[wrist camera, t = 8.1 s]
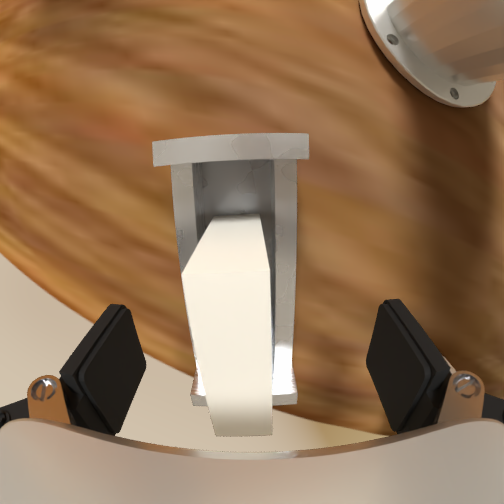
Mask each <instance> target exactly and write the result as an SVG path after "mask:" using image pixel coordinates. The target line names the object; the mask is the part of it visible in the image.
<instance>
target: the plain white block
mask: <svg viewBox="0 0 504 504" xmlns="http://www.w3.org/2000/svg"><path fill="white" fill-rule="evenodd" d="M181 275H182V281H183V287H184V294H185V299H186V305H187V311H188V316H189V322H190V327H191V332H192V338H193V343H194V347H195V352H196V357H197V362H198V366H199V371H200V375H201V380H202V384H203V388H204V392H205V397H206V401H207V405H208V408H209V412H210V416H211V420H212V424H213V427H214V431H215V435H216V436H265V435H272V343H271V294H270V268H269V263H268V257H267V252H266V246H265V241H264V236H263V230H262V225H261V220H260V214H244V215H226V216H214V217H213V219H212V220H211V222H210V224H209V226H208V227H207V229H206V231H205V233H204V234H203V236H202V238H201V240H200V242H199V243H198V245H197V247H196V249H195V251H194V252H193V254H192V256H191V258H190V260H189V261H188V263H187V265H186V267H185V269H184V271H183V272H182V274H181Z"/></svg>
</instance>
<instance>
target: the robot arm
mask: <svg viewBox="0 0 504 504" xmlns="http://www.w3.org/2000/svg"><path fill="white" fill-rule="evenodd" d="M359 3H360V8H361V13H362V16H363V18H364V21H365V23H366V26H367V28H368V30H369V32H370V33H371V35H372V37H373V39H374V41H375V42H376V44H377V45H378V47H379V48H380V49H381V51H382V52H383V54H384V55H385V56H386V58H387V59H388V60H389V61H390V62H391V63H392V65H393V66H394V67H395V68H396V69H397V70H398V72H399V73H401V74H402V75H403V76H404V77H405V78H406V79H407V80H408V81H409V82H410V83H411V84H412V85H414V86H415V87H416V88H418V89H419V90H420V91H422V92H423V93H424V94H425V95H427V96H429V97H431V98H433V99H434V100H436V101H438V102H440V103H443V104H446V105H448V106H451V107H459V108H465V107H474V106H477V105H480V104H482V103H484V102H485V101H486V100H487V99H488V98H489V97H490V95H491V94H492V92H493V90H494V87H495V84H496V81H500V80H504V0H359ZM366 365H367V368H368V370H369V373H370V375H371V378H372V380H373V382H374V385H375V387H376V390H377V392H378V395H379V397H380V400H381V402H382V405H383V408H384V410H385V413H386V415H387V418H388V421H389V423H390V426H391V428H392V430H393V431H394V432H395V431H396V432H397V435H393V436H389V437H385V438H380V439H375V440H370V441H365V442H360V443H355V444H348V445H342V446H335V447H328V448H321V449H320V448H319V449H310V450H298V451H284V452H283V451H282V452H223V451H222V452H221V451H207V450H195V449H186V448H177V447H169V446H163V445H157V444H151V443H145V442H140V441H135V440H130V439H126V438H121V437H117V436H115V434H116V433H119V432H120V430H121V427H122V425H123V422H124V420H125V417H126V415H127V412H128V410H129V407H130V405H131V403H132V400H133V398H134V395H135V393H136V391H137V388H138V386H139V384H140V381H141V379H142V377H143V374H144V372H145V369H146V360H145V357H144V354H143V351H142V348H141V345H140V342H139V339H138V335H137V332H136V329H135V325H134V322H133V318H132V315H131V312H130V310H129V309H127V308H126V306H125V305H118V304H110V305H109V306H108V307H107V309H106V310H105V311H104V312H103V314H102V315H101V316H100V318H99V319H98V320H97V321H96V323H95V324H94V325H93V327H92V328H91V329H90V330H89V332H88V333H87V335H86V336H85V337H84V338H83V340H82V341H81V342H80V344H79V345H78V346H77V348H76V349H75V351H74V352H73V353H72V355H71V356H70V357H69V359H68V360H67V362H66V363H65V365H64V366H63V367H62V369H61V370H60V371H59V372H60V374H61V377H60V379H58V378H57V377H55V376H52V375H45V376H41V377H39V378H37V379H36V380H34V381H33V382H32V383H31V385H30V386H29V388H28V392H27V398H25V399H23V400H20V401H17V402H15V403H12V404H9V405H6V406H4V407H1V408H0V504H504V400H503V399H500V398H497V397H494V396H491V395H488V394H485V393H484V392H485V388H484V384H483V382H482V380H481V379H480V378H479V377H478V376H477V375H476V374H474V373H472V372H469V371H458V372H455V373H454V374H453V375H452V373H451V372H450V368H451V367H450V366H449V365H448V363H447V362H446V360H445V359H444V357H443V356H442V354H441V353H440V352H439V350H438V349H437V347H436V346H435V345H434V343H433V342H432V341H431V339H430V338H429V336H428V335H427V334H426V332H425V331H424V330H423V328H422V327H421V326H420V324H419V323H418V322H417V321H416V319H415V318H414V317H413V315H412V314H411V313H410V311H409V310H408V309H407V308H406V306H405V305H404V304H403V303H402V301H401V300H400V299H390V300H385V301H384V302H383V304H381V305H380V306H379V309H378V313H377V318H376V322H375V326H374V331H373V335H372V339H371V343H370V346H369V350H368V354H367V358H366Z"/></svg>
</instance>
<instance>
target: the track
mask: <svg viewBox="0 0 504 504" xmlns="http://www.w3.org/2000/svg"><path fill="white" fill-rule="evenodd" d="M152 146H153V165H154V167H155V166H164V165H171V178H172V192H173V204H174V215H175V226H176V235H177V245H178V253H179V261H180V269H181V274H182V272H183V271H184V269H185V267H186V265H187V263H188V261H189V260H190V258H191V256H192V254H193V252H194V251H195V249H196V247H197V245H198V243H199V242H200V240H201V238H202V236H203V234H204V233H205V231H206V229H207V227H208V226H209V224H210V222H211V220H212V219H213V217H214V216H226V215H244V214H260V220H261V225H262V230H263V236H264V241H265V246H266V252H267V257H268V263H269V268H270V294H271V343H272V406H274V405H289V404H297V396H298V391H297V386H296V381H295V376H294V370H293V365H292V347H293V330H294V309H295V284H296V245H297V159H309V134H304V133H254V134H229V135H213V136H200V137H189V138H179V139H170V140H162V141H155V142H152ZM181 277H182V275H181ZM182 284H183V281H182ZM183 291H184V287H183ZM184 298H185V294H184ZM185 304H186V299H185ZM186 311H187V305H186ZM187 317H188V323H189V329H190V334H191V340H192V346H193V351H194V356H195V361H196V371H195V376H194V380H193V385H192V390H191V394H190V395H191V399H192V403H193V405H194V406H208V405H207V401H206V397H205V392H204V388H203V384H202V380H201V375H200V371H199V366H198V362H197V357H196V352H195V347H194V343H193V338H192V332H191V327H190V322H189V316H188V311H187Z"/></svg>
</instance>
